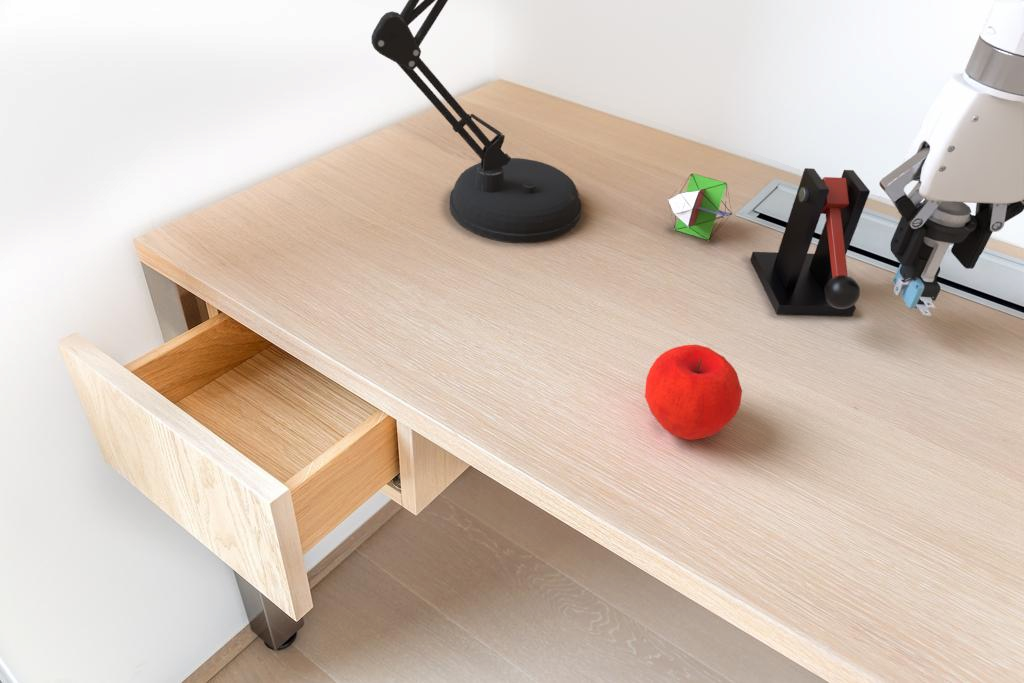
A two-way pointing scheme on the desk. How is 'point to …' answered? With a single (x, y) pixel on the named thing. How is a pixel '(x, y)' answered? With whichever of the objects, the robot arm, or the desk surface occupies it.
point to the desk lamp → (484, 154)
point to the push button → (933, 254)
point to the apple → (692, 391)
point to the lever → (838, 247)
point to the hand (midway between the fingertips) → (931, 257)
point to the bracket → (792, 269)
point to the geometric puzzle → (699, 206)
